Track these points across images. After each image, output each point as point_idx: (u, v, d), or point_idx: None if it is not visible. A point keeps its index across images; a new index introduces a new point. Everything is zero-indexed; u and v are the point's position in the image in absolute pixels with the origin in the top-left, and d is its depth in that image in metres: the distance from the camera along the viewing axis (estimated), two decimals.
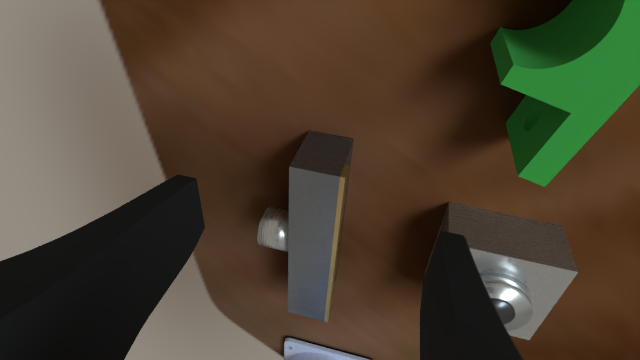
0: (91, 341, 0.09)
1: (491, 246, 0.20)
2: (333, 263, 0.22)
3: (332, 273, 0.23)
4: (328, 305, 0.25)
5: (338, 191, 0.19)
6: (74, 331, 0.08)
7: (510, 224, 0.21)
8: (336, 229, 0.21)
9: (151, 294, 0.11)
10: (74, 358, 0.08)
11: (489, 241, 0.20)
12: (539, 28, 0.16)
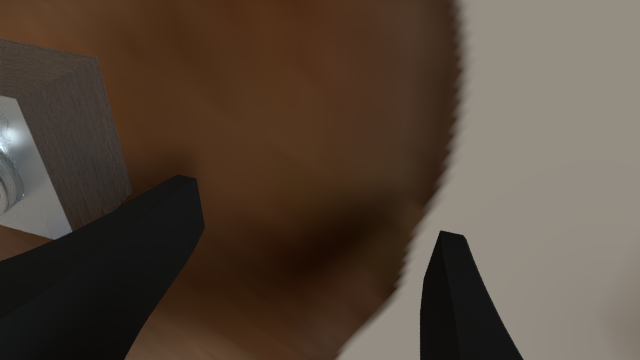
0: (91, 341, 0.09)
1: None
2: None
3: None
4: None
5: None
6: (74, 331, 0.08)
7: (5, 51, 0.13)
8: None
9: (151, 294, 0.11)
10: (74, 358, 0.08)
11: None
12: None
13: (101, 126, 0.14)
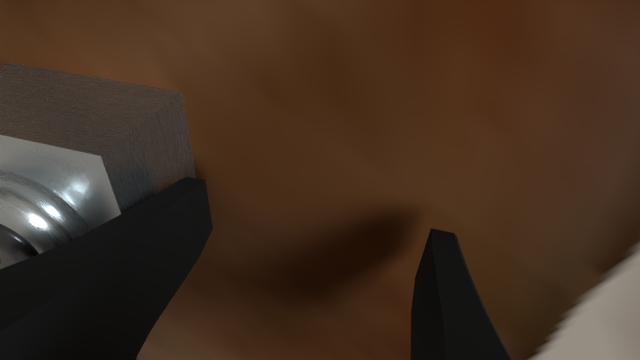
0: (102, 344, 0.09)
1: None
2: None
3: None
4: None
5: None
6: (86, 335, 0.08)
7: (73, 92, 0.11)
8: None
9: (160, 297, 0.11)
10: None
11: None
12: None
13: (179, 172, 0.12)
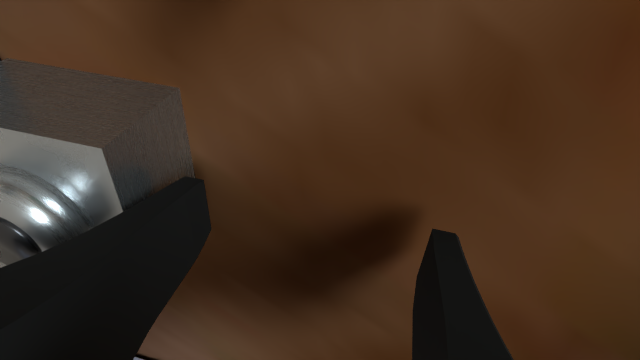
0: (100, 344, 0.09)
1: None
2: None
3: None
4: None
5: None
6: (84, 334, 0.08)
7: (73, 86, 0.11)
8: None
9: (159, 296, 0.11)
10: None
11: None
12: None
13: (179, 167, 0.12)
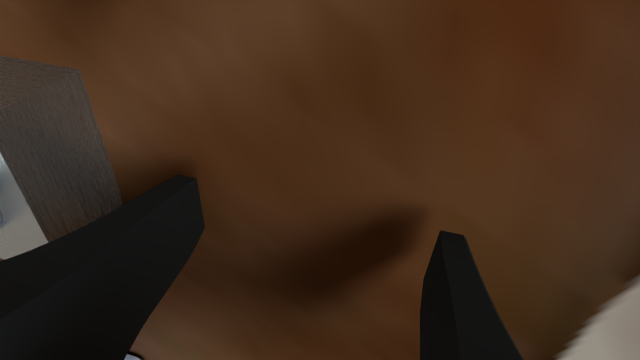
0: (91, 341, 0.09)
1: None
2: None
3: None
4: None
5: None
6: (74, 331, 0.08)
7: None
8: None
9: (151, 294, 0.11)
10: (74, 358, 0.08)
11: None
12: None
13: (88, 144, 0.13)
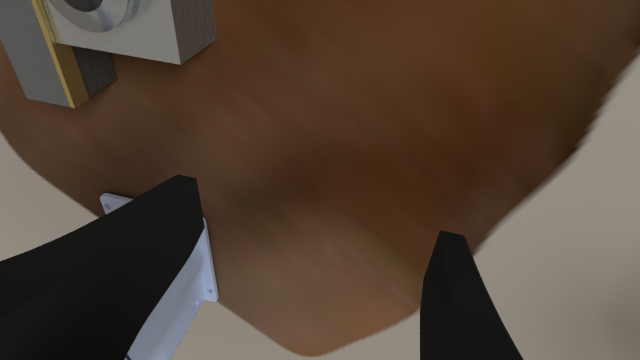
0: (91, 341, 0.09)
1: None
2: None
3: None
4: (60, 71, 0.18)
5: None
6: (74, 331, 0.08)
7: None
8: None
9: (151, 294, 0.11)
10: (74, 358, 0.08)
11: None
12: None
13: None
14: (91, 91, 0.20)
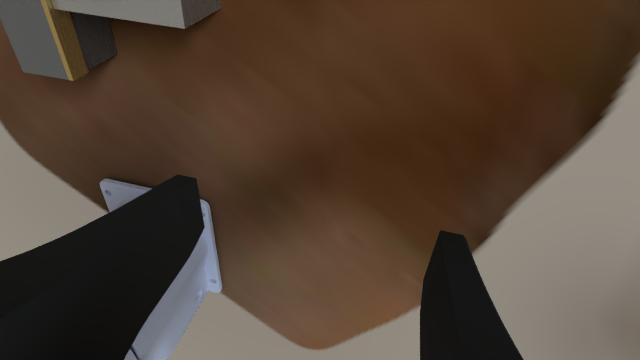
0: (91, 341, 0.09)
1: None
2: None
3: None
4: (57, 40, 0.17)
5: None
6: (74, 331, 0.08)
7: None
8: None
9: (151, 294, 0.11)
10: (74, 358, 0.08)
11: None
12: None
13: None
14: (90, 65, 0.19)
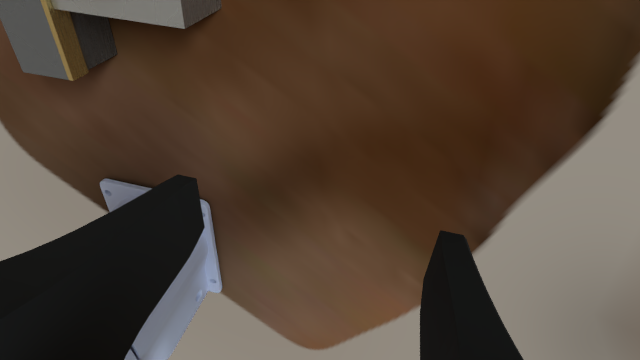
0: (91, 341, 0.09)
1: None
2: None
3: None
4: (57, 40, 0.17)
5: None
6: (74, 331, 0.08)
7: None
8: None
9: (151, 294, 0.11)
10: (74, 358, 0.08)
11: None
12: None
13: None
14: (90, 65, 0.19)
